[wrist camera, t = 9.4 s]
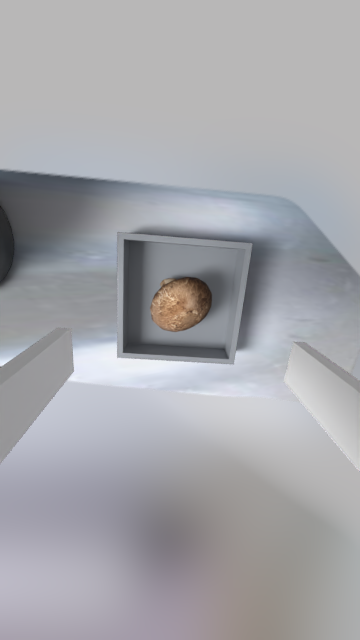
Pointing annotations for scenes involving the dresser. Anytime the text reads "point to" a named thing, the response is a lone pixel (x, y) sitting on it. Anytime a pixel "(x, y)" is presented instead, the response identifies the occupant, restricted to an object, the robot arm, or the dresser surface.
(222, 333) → the tray
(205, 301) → the mushroom
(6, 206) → the dresser surface
